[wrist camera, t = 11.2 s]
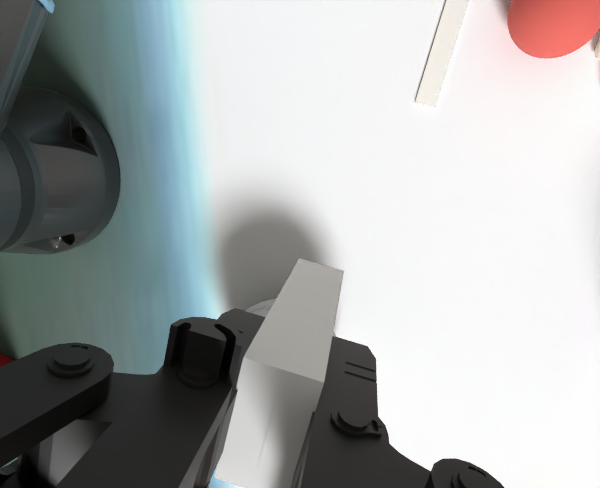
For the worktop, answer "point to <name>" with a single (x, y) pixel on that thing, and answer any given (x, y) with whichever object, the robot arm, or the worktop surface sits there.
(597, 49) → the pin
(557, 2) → the ball
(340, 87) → the worktop surface
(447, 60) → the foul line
